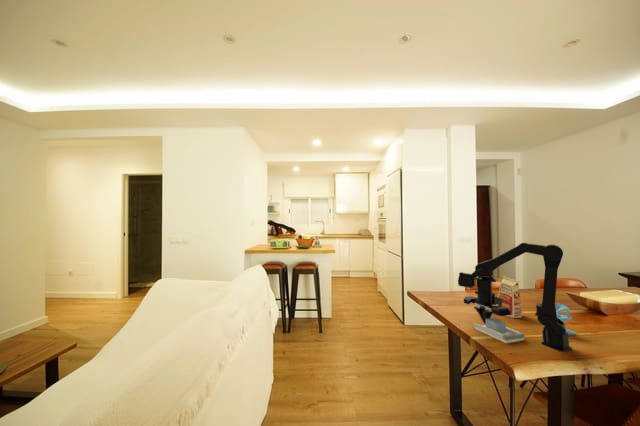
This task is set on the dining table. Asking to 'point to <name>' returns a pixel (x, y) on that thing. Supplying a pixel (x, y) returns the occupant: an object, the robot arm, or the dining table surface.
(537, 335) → the dining table surface
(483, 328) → the board
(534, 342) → the dining table surface
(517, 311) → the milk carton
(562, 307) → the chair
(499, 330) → the block
